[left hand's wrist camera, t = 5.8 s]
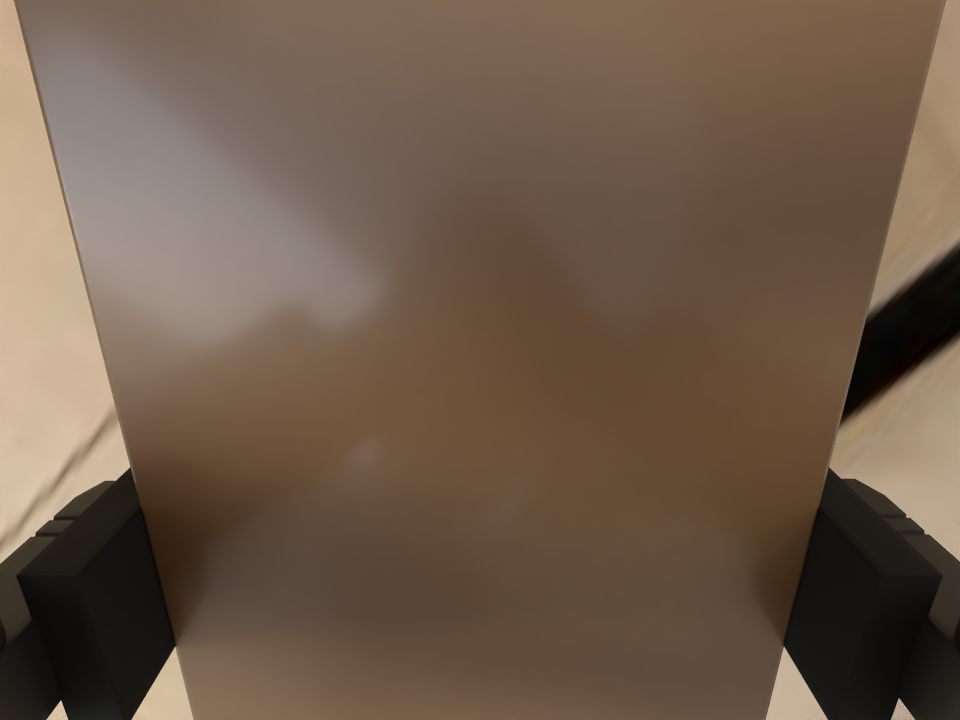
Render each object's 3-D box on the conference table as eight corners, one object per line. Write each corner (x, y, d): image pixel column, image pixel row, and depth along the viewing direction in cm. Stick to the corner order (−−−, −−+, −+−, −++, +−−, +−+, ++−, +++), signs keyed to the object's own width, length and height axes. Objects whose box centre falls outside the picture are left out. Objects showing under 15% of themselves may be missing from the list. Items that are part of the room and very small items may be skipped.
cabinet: (215, -445, 11) (-503, -2028, 3) (745, -445, 11) (1462, -2028, 3) (322, 492, 18) (201, 762, 10) (637, 492, 18) (757, 762, 10)
